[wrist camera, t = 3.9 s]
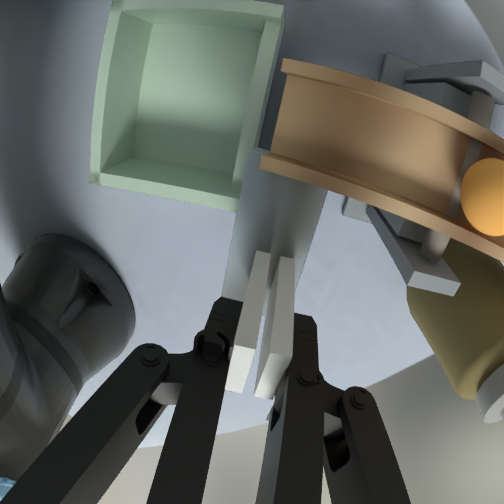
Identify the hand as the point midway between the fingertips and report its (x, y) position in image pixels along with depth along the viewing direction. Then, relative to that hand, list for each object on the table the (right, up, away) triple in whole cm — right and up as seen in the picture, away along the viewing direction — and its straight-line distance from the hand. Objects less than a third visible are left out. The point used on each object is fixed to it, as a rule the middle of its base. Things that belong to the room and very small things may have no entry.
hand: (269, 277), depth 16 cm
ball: (+9, +4, -7) cm, 12 cm away
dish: (-5, +12, +2) cm, 13 cm away
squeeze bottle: (+14, +1, +6) cm, 16 cm away
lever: (+9, +3, 0) cm, 9 cm away
